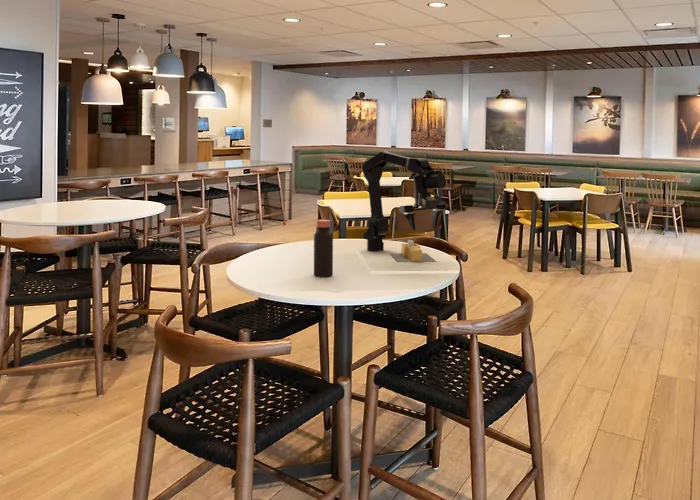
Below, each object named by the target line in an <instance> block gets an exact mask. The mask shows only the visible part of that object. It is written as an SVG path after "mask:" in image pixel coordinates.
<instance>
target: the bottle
mask: <svg viewBox="0 0 700 500" xmlns="http://www.w3.org/2000/svg"><path fill="white" fill-rule="evenodd" d="M316 228H317V230H316V232H315V233H313V275H314V276H315V277H316V278H317V277H318V278H329V277H332V276H333V275H334V273H333V271H334V269H333V268H334V263H333V262H334V261H333V259H334V256H333V255H334V254H333V253H334V244H333V243H334V235H333V234H334V233H332V232H331V230H330V229H331V220H330V219H317V220H316Z"/></svg>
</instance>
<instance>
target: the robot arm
mask: <svg viewBox="0 0 700 500" xmlns="http://www.w3.org/2000/svg"><path fill="white" fill-rule="evenodd" d="M388 163H389V164H394V165H397V166H399V167H402V168H405V169H406V170H407V171H408V172H411V175H410V176H409V177H408V180H413V191H414V193H412V196H413V197H414V203H413V204H411V205H410V204H409V205H408V204H406V205H400V206H399V208H398V213H399V214H401V215H402V216H404V217H405V218H406V220H407V221H408V223H409V225H410V228H411V229H412V231H416V224H415V214H416V213H415V212H416V211H425V210H431V211H430V212H431V220H432V226H433V229H436V228H437V224H438V220H439V217H440V216H441V214H442V213H443V212H444V211H445V210H446V209H447V208H448V206H447V202H445V201H442V200H441V199H442V198H441V195H439V194H435V195H433V196H432V193H431V191H430V190H436V189H437V190H438V189H443V188H445V186H446V185H447V179H446V176H445V175H444V174H443V170H434V168H433V167H432V166H431V164H430V163H429V160H428V158H424V157H422V158H421V157H408V156H405V155H400V154H398V153H393V152H391V151H390V150H389V151H387V150H386V151H380V152H379V153H378V154H376V155H374V156H372V157H370V158H369V159H368V160H365V162H363V163H362V168H361V169H362V174H363V177H364V178H365V179H366V181H367V185H368V197H369V205H370V218H369V221H368V227H367V230H365V232H364V233H363V239H364V240H366V250H367V252H384V244H385V243H384V242H383V239H386V237H387V233H388V232H389V228H390V224H389V218H388V217H387V218H386V217H385V216H384V214H383V213H384V212H383V203H382V201H383V200H382V193H381V190H382V189H381V178H382V176H383V169H384V168H386V167H387V165H388Z"/></svg>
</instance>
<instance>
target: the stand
mask: <svg viewBox="0 0 700 500" xmlns="http://www.w3.org/2000/svg"><path fill="white" fill-rule="evenodd" d="M414 242H415V240H414V239H412V240H411V239H408V240H407V244H408V246H414V244H415V243H414ZM389 255H390V257H392V259H393V260H394V261H395V262H396V263H412V262H411V261H410V260H409V259H408V258H407V257H403V256H402V255H401V253H399V252H398V253H397V252H396V253H395V252H394V253H392V252H391V253H389ZM437 262H438V261H437V260H436V259H434V258H433V257H432V256H431V255H429V254H428V253H427V252H422V262H421V263H437Z"/></svg>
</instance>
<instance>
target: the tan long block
mask: <svg viewBox="0 0 700 500" xmlns="http://www.w3.org/2000/svg"><path fill="white" fill-rule="evenodd" d="M400 251H401V255H402V256H403V257H407V258H408V259H409V260H410V261H411V262H410V263H423V262H422V253H423V250H422V249H421V246H420V245H419V244H418V243H414V246H408V243H401V249H400Z"/></svg>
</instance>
